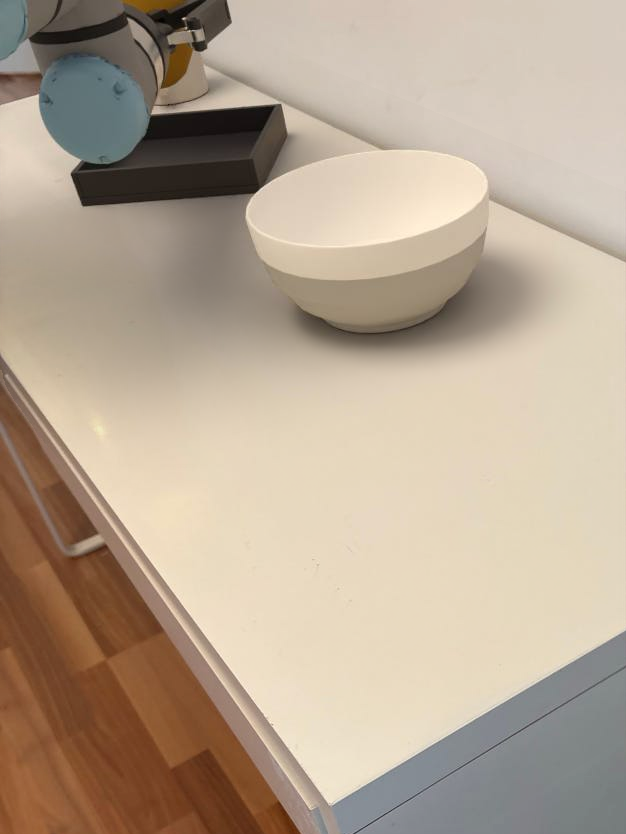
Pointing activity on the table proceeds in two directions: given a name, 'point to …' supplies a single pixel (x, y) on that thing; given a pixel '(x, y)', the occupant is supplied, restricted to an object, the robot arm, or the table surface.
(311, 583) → the table surface
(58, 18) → the robot arm
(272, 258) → the bowl
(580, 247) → the table surface
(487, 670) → the table surface
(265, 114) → the tray
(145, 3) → the apple
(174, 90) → the mug
